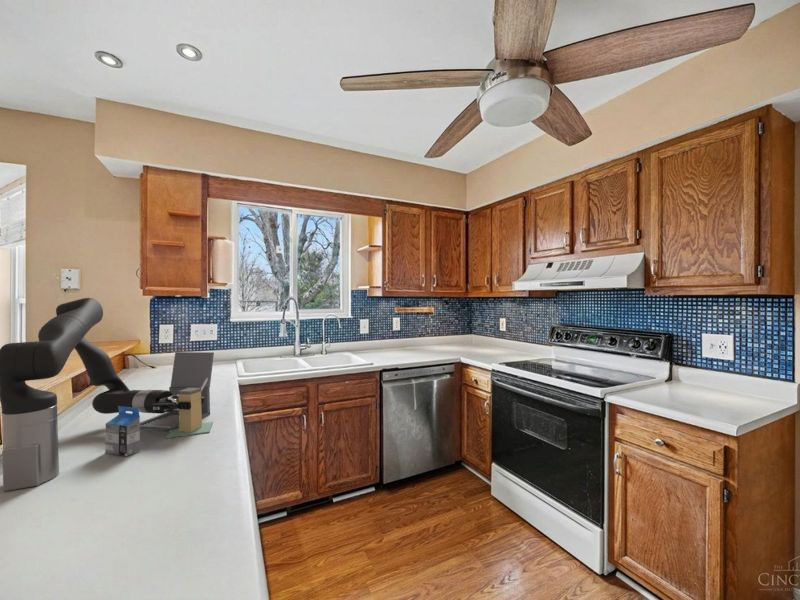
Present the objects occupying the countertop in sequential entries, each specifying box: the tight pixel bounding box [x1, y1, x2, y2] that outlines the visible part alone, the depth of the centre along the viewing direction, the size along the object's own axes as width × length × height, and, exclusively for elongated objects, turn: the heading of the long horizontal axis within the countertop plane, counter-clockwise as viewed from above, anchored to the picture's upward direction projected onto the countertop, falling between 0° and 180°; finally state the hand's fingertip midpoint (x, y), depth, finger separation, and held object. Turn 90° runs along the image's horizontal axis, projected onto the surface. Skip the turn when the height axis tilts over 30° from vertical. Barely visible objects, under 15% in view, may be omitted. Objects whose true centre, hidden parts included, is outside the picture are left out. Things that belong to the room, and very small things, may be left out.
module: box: [178, 388, 203, 432], centre depth 116 cm, size 5×5×13 cm
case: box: [140, 351, 215, 431], centre depth 127 cm, size 20×16×23 cm
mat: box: [165, 421, 214, 439], centre depth 116 cm, size 10×12×1 cm
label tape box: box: [104, 406, 141, 457], centre depth 100 cm, size 9×4×12 cm, turn 72°
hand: (196, 403), depth 115 cm, fingers open, 5 cm apart
